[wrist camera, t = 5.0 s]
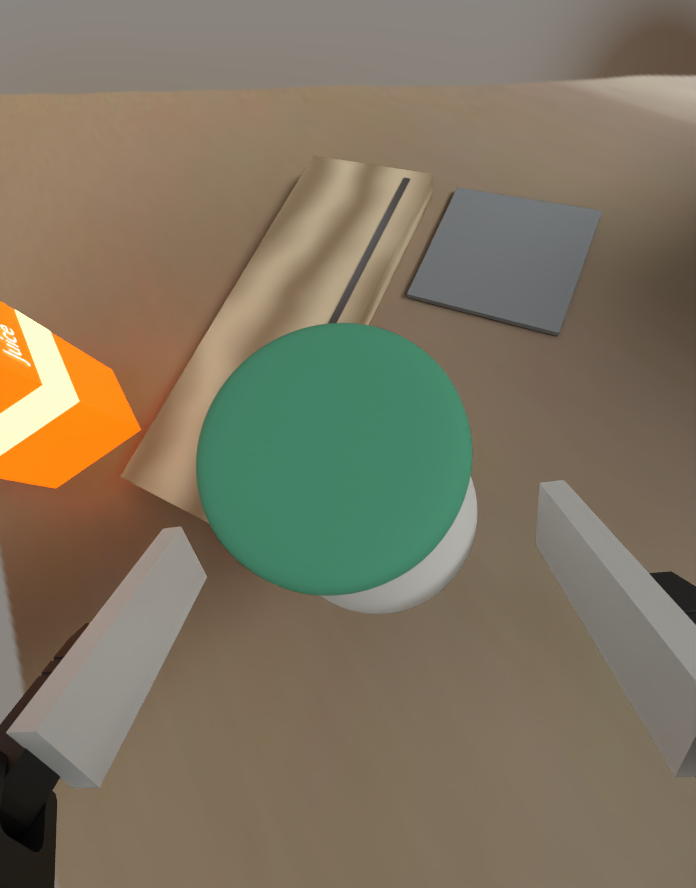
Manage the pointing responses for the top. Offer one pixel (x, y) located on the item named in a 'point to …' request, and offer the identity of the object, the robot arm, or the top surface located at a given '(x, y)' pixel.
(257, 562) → the milk bottle
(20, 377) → the orange juice
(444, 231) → the plate
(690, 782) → the top surface
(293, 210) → the oak board
